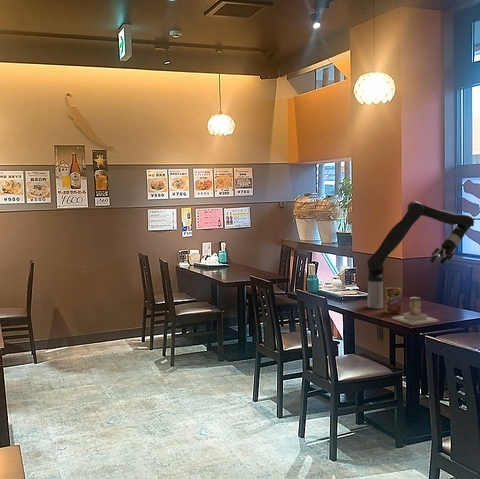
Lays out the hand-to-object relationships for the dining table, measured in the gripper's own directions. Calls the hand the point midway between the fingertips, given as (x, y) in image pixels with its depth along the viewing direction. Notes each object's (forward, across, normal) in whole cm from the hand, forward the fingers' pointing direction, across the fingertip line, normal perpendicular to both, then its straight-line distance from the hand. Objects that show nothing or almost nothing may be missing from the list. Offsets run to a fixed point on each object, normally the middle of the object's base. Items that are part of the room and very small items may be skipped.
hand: (436, 262), depth 348 cm
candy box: (+36, -14, +7) cm, 40 cm away
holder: (+38, +10, +5) cm, 40 cm away
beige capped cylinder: (+38, +10, +4) cm, 39 cm away
